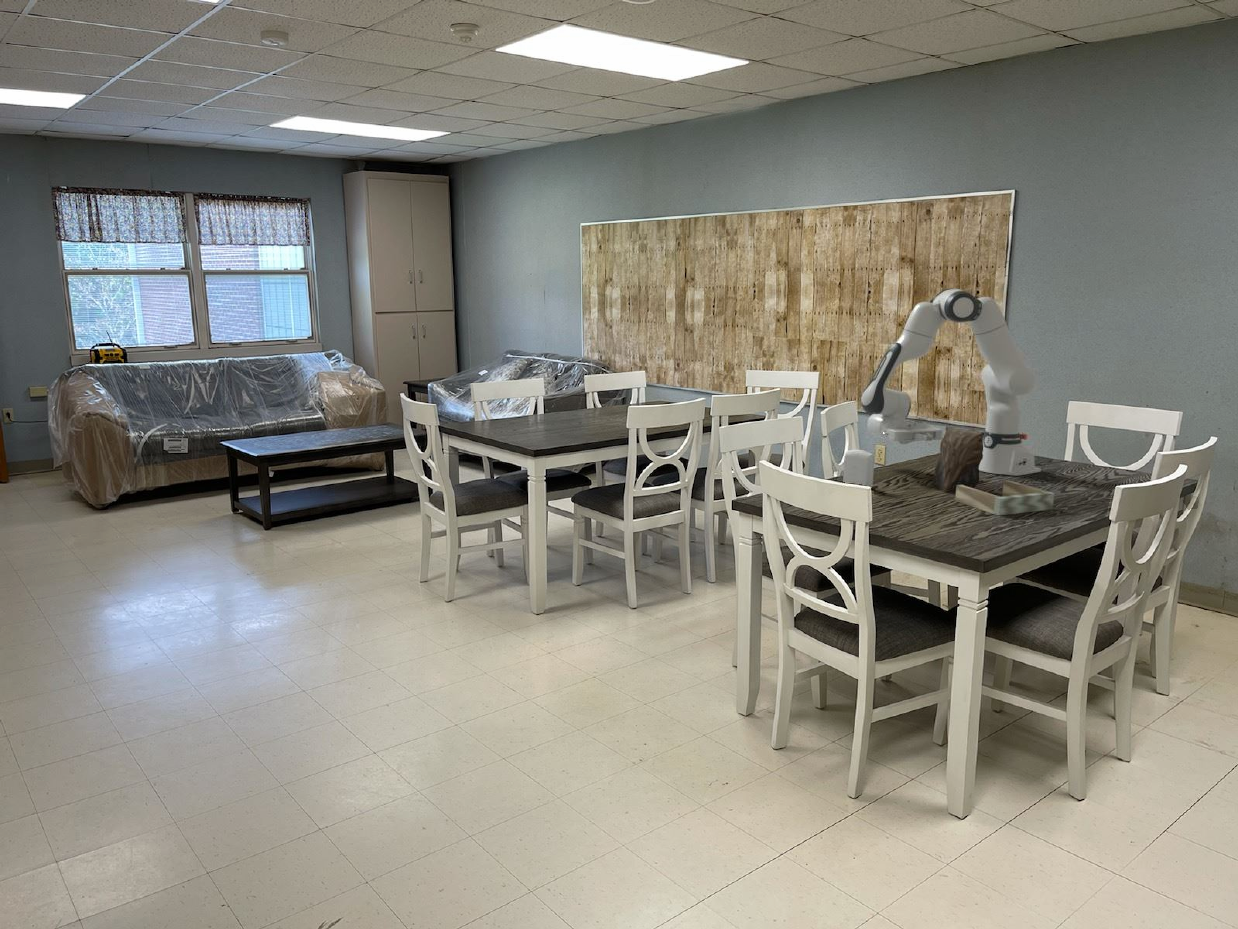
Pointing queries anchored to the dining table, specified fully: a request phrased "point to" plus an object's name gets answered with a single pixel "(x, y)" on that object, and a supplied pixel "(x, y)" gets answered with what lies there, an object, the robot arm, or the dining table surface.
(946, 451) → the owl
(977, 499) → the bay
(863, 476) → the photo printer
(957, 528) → the dining table surface
